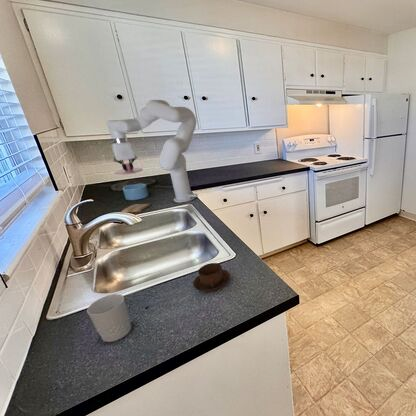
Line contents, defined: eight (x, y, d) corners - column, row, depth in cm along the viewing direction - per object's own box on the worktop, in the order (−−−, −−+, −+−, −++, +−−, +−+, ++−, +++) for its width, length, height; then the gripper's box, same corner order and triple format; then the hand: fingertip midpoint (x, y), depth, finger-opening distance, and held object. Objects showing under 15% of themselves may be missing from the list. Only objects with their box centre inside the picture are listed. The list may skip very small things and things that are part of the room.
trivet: (150, 205, 171) (150, 203, 170) (141, 211, 160) (140, 210, 160) (132, 205, 170) (132, 204, 170) (121, 212, 160) (121, 210, 159)
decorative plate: (119, 180, 222) (160, 177, 230) (120, 182, 223) (160, 179, 230) (102, 191, 195) (148, 187, 203) (103, 193, 196) (149, 189, 203)
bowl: (150, 192, 195) (147, 182, 192) (147, 198, 183) (144, 187, 181) (127, 195, 190) (124, 185, 187) (123, 201, 178) (120, 190, 175)
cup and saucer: (236, 283, 95) (234, 268, 92) (202, 299, 87) (198, 284, 85) (221, 269, 103) (219, 255, 100) (189, 283, 95) (185, 268, 93)
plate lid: (144, 168, 182) (142, 160, 180) (140, 173, 170) (138, 164, 168) (119, 171, 177) (116, 162, 175) (112, 176, 164) (109, 167, 162)
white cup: (91, 342, 72) (78, 313, 68) (117, 320, 79) (106, 292, 75) (117, 345, 71) (105, 316, 67) (140, 323, 78) (131, 295, 74)
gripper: (105, 143, 158) (115, 173, 165) (136, 139, 169) (144, 168, 176) (102, 142, 163) (112, 171, 170) (133, 139, 174) (141, 167, 181)
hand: (128, 169), depth 173 cm, fingers closed on plate lid, 2 cm apart
